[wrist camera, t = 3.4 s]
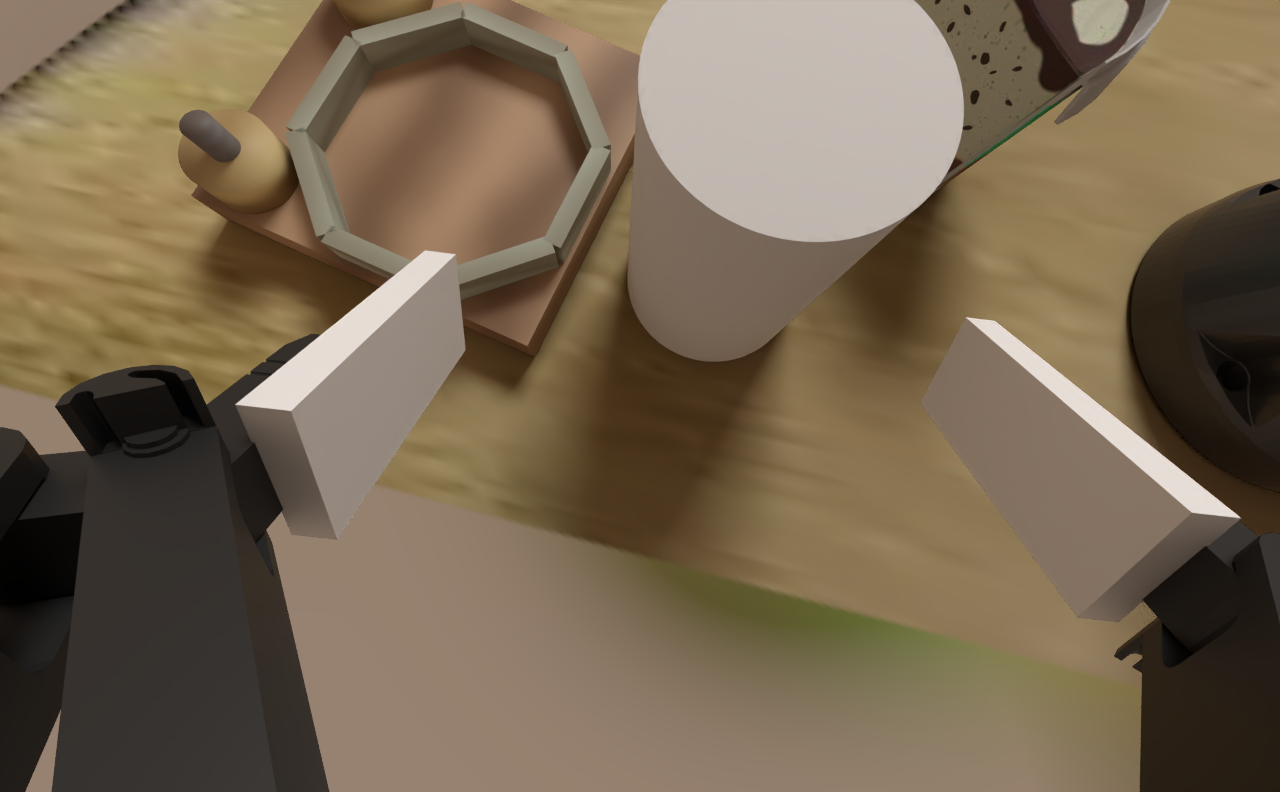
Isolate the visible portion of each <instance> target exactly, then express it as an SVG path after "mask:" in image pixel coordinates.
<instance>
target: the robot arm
mask: <svg viewBox="0 0 1280 792" xmlns="http://www.w3.org/2000/svg"><path fill="white" fill-rule="evenodd" d="M1131 326H1132V335H1133V341H1134V346H1135V351H1136V355H1137V358H1138V361H1139V365H1140V367H1141V370H1142V373H1143V375H1144V378H1145V380H1146V382H1147V384H1148V386H1149V389H1150V390H1151V392H1152V394H1153V396H1154V398H1155V400H1156V401H1157V403H1158V404H1159V406H1160V408H1161V409H1162V411H1163V412H1164V413H1165V415H1166V416H1167V418H1168V419H1169V420H1170V422H1171V423H1172V424H1173V425H1174V427H1175V428H1176V429H1177V430H1178V431H1179V432H1180V433H1181V434H1182V436H1183V437H1184V438H1185V439H1186V440H1187V441H1188V442H1189V443H1190V444H1191V445H1192V446H1193V447H1195V448H1196V449H1197V450H1198V451H1199V452H1200V453H1202V454H1203V455H1204V456H1205V457H1207V458H1208V459H1209V460H1211V461H1212V462H1213V463H1215V464H1216V465H1218V466H1219V467H1221V468H1222V469H1224V470H1225V471H1227V472H1229V473H1231V474H1232V475H1234V476H1236V477H1238V478H1240V479H1242V480H1244V481H1246V482H1249V483H1251V484H1254V485H1256V486H1259V487H1262V488H1265V489H1268V490H1272V491H1276V492H1280V179H1277V180H1272V181H1268V182H1264V183H1261V184H1257V185H1254V186H1251V187H1248V188H1246V189H1243V190H1240V191H1238V192H1236V193H1233V194H1231V195H1229V196H1227V197H1225V198H1223V199H1220V200H1218V201H1216V202H1214V203H1212V204H1209V205H1207V206H1205V207H1203V208H1201V209H1199V210H1196V211H1194V212H1192V213H1190V214H1188V215H1186V216H1184V217H1183V218H1181V219H1179V220H1178V221H1176V222H1175V223H1174V224H1172V225H1171V226H1170V227H1169V228H1168V229H1166V230H1165V231H1164V232H1163V233H1162V234H1161V235H1160V236H1159V237H1158V239H1157V240H1156V241H1155V242H1154V244H1153V245H1152V246H1151V248H1150V249H1149V251H1148V252H1147V254H1146V256H1145V258H1144V260H1143V262H1142V264H1141V266H1140V269H1139V271H1138V274H1137V277H1136V280H1135V285H1134V289H1133V295H1132V304H1131ZM465 350H466V349H465V339H464V329H463V319H462V309H461V299H460V290H459V280H458V270H457V260H456V254H450V253H442V252H434V251H424V252H423V253H421V254H420V255H419V256H418V257H416V258H415V259H414V260H413V261H412V262H410V263H409V264H408V265H407V266H405V267H404V268H403V269H402V270H400V271H399V272H398V273H397V274H396V275H394V276H393V277H392V278H391V279H389V280H388V281H387V282H386V283H384V284H383V285H382V286H381V287H380V288H378V289H377V290H376V291H375V292H373V293H372V294H371V295H370V296H368V297H367V298H366V299H365V300H363V301H362V302H361V303H360V304H359V305H357V306H356V307H355V308H354V309H352V310H351V311H350V312H349V313H347V314H346V315H345V316H344V317H343V318H341V319H340V320H339V321H338V322H336V323H335V324H334V325H333V326H331V327H330V328H329V329H328V330H327V331H325V332H324V333H323V334H322V335H317V334H310V335H308V336H305V337H303V338H301V339H298V340H296V341H293V342H291V343H289V344H286V345H284V346H283V347H282V348H280V349H279V350H278V351H277V352H275V353H274V354H273V355H271V356H270V357H269V358H267V359H266V362H262V363H261V364H259V365H258V366H257V367H256V368H254V369H253V370H252V371H251V374H250V375H248V374H246V375H245V376H244V377H242V378H241V379H240V380H238V381H237V382H236V383H234V384H233V385H232V386H231V387H229V388H228V389H227V390H225V391H224V392H223V393H221V394H220V395H219V396H217V397H216V398H215V399H213V400H212V401H211V402H210V403H208V404H207V405H206V403H205V401H204V399H203V397H202V395H201V392H200V390H199V388H198V386H197V384H196V382H195V380H194V378H193V377H192V375H191V374H190V373H189V371H188V370H185V369H182V368H179V367H176V366H165V365H148V366H139V367H131V368H126V369H122V370H118V371H114V372H110V373H106V374H103V375H100V376H98V377H95V378H93V379H90V380H88V381H85V382H83V383H80V384H79V385H77V386H76V387H74V388H73V389H71V390H70V391H68V392H66V393H65V394H63V395H62V397H61V398H60V400H59V401H58V403H57V404H56V406H55V407H56V408H57V410H58V411H59V413H60V414H61V416H62V417H63V419H64V420H65V421H66V423H67V424H68V426H69V427H70V429H71V430H72V431H73V433H74V434H75V436H76V437H77V439H78V440H79V441H80V443H81V444H82V446H83V447H84V449H85V450H86V451H78V452H68V453H57V454H46V455H39V454H38V453H37V452H36V450H35V449H34V448H33V446H32V445H31V444H30V443H29V441H28V440H27V439H26V438H25V436H24V435H23V434H22V433H21V432H20V431H17V430H12V429H8V428H3V427H1V428H0V792H25V791H26V788H27V786H28V784H29V782H30V779H31V777H32V774H33V772H34V770H35V768H36V765H37V763H38V761H39V758H40V756H41V754H42V751H43V749H44V747H45V745H46V742H47V740H48V738H49V735H50V733H51V731H52V728H53V726H54V724H55V722H56V719H57V717H58V715H59V712H60V710H61V715H60V723H59V732H58V741H57V750H56V758H55V767H54V776H53V786H52V792H329V789H328V784H327V780H326V775H325V771H324V767H323V762H322V758H321V754H320V749H319V745H318V740H317V736H316V732H315V727H314V723H313V719H312V714H311V710H310V706H309V702H308V697H307V693H306V688H305V684H304V679H303V675H302V671H301V666H300V662H299V658H298V654H297V649H296V645H295V640H294V637H293V632H292V627H291V623H290V619H289V614H288V610H287V606H286V601H285V597H284V592H283V588H282V584H281V579H280V575H279V571H278V567H277V562H276V558H275V553H274V549H273V545H272V542H271V539H270V537H269V535H268V533H267V531H266V529H267V528H268V527H269V526H270V525H271V523H272V522H273V521H274V520H275V519H276V517H277V516H278V515H279V514H280V513H281V511H282V513H283V515H284V518H285V520H286V522H287V525H288V527H289V529H290V532H291V534H292V535H299V536H308V537H317V538H328V539H336V540H337V539H338V538H339V536H340V535H341V533H342V532H343V530H344V529H345V527H346V526H347V524H348V523H349V522H350V520H351V518H352V517H353V516H354V514H355V513H356V511H357V510H358V508H359V507H360V505H361V504H362V502H363V501H364V499H365V498H366V496H367V495H368V493H369V492H370V490H371V489H372V488H373V486H374V485H375V483H376V482H377V480H378V479H379V477H380V476H381V474H382V473H383V471H384V470H385V468H386V467H387V465H388V464H389V462H390V461H391V459H392V458H393V457H394V455H395V454H396V452H397V451H398V449H399V448H400V446H401V445H402V443H403V442H404V440H405V439H406V437H407V436H408V434H409V433H410V431H411V430H412V428H413V427H414V425H415V424H416V423H417V421H418V420H419V418H420V417H421V415H422V414H423V412H424V411H425V409H426V408H427V406H428V405H429V403H430V402H431V400H432V399H433V397H434V396H435V394H436V393H437V392H438V390H439V389H440V387H441V386H442V384H443V383H444V381H445V380H446V378H447V377H448V375H449V374H450V372H451V371H452V369H453V368H454V366H455V365H456V363H457V362H458V360H459V359H460V358H461V356H462V355H463V353H464V352H465ZM920 405H921V406H922V407H923V409H924V410H925V411H926V413H927V414H928V415H929V417H930V418H931V420H932V421H933V422H934V424H935V425H936V426H937V428H938V429H939V430H940V432H941V433H942V435H943V436H944V437H945V439H946V440H947V441H948V443H949V444H950V445H951V447H952V448H953V449H954V451H955V452H956V454H957V455H958V456H959V458H960V459H961V460H962V462H963V463H964V464H965V466H966V467H967V468H968V470H969V471H970V473H971V474H972V475H973V477H974V478H975V479H976V481H977V482H978V483H979V485H980V486H981V487H982V489H983V490H984V492H985V493H986V494H987V496H988V497H989V498H990V500H991V501H992V502H993V504H994V505H995V506H996V508H997V509H998V511H999V512H1000V513H1001V515H1002V516H1003V517H1004V519H1005V520H1006V521H1007V523H1008V524H1009V525H1010V527H1011V528H1012V530H1013V531H1014V532H1015V534H1016V535H1017V536H1018V538H1019V539H1020V540H1021V542H1022V543H1023V544H1024V546H1025V547H1026V549H1027V550H1028V551H1029V553H1030V554H1031V555H1032V557H1033V558H1034V559H1035V561H1036V562H1037V563H1038V565H1039V566H1040V568H1041V569H1042V570H1043V572H1044V573H1045V574H1046V576H1047V577H1048V578H1049V580H1050V581H1051V582H1052V584H1053V585H1054V587H1055V588H1056V589H1057V591H1058V592H1059V593H1060V595H1061V596H1062V597H1063V599H1064V600H1065V601H1066V603H1067V604H1068V606H1069V607H1070V608H1071V610H1072V611H1073V612H1074V614H1075V615H1076V616H1077V618H1087V619H1096V620H1106V621H1115V622H1119V621H1120V620H1121V619H1122V618H1124V617H1125V616H1126V615H1127V614H1128V613H1130V612H1131V611H1132V610H1133V609H1134V608H1135V607H1137V606H1138V605H1139V604H1140V603H1141V602H1143V601H1144V602H1145V603H1146V604H1147V605H1148V607H1149V608H1150V609H1151V610H1152V611H1153V612H1154V613H1155V614H1156V616H1157V618H1156V619H1155V620H1153V621H1152V622H1151V623H1150V624H1148V625H1147V626H1146V627H1145V628H1143V629H1142V630H1141V631H1140V632H1138V633H1137V634H1136V635H1135V636H1133V637H1132V638H1131V639H1130V640H1128V641H1127V642H1126V643H1125V644H1123V645H1122V646H1121V647H1120V648H1118V649H1117V651H1116V653H1115V655H1114V657H1116V658H1118V659H1120V660H1121V661H1122V660H1123V659H1124V658H1125V657H1127V656H1128V655H1129V654H1133V653H1137V654H1140V655H1142V659H1141V660H1140V661H1139V662H1137V663H1136V664H1135V665H1133V668H1135V669H1136V670H1138V671H1140V672H1141V673H1142V706H1141V762H1140V792H1280V534H1276V533H1267V534H1262V535H1260V536H1257V535H1256V534H1255V533H1254V532H1252V531H1251V530H1250V529H1249V528H1247V527H1246V526H1245V525H1244V524H1242V523H1241V522H1240V521H1239V520H1240V519H1241V518H1240V517H1239V516H1238V515H1237V514H1235V513H1234V512H1233V511H1232V510H1230V509H1229V508H1228V507H1227V506H1225V505H1224V504H1223V503H1222V502H1220V501H1219V500H1218V499H1217V498H1215V497H1214V496H1213V495H1212V494H1210V493H1209V492H1208V491H1207V490H1205V489H1204V488H1203V487H1202V486H1200V485H1199V484H1198V483H1197V482H1195V481H1194V480H1193V479H1192V478H1190V477H1189V476H1188V475H1187V474H1185V473H1184V472H1183V471H1182V470H1180V469H1179V468H1178V467H1177V466H1175V465H1174V464H1173V463H1172V462H1170V461H1169V460H1168V459H1167V458H1165V457H1164V456H1163V455H1162V454H1160V453H1159V452H1158V451H1157V450H1155V449H1154V448H1153V447H1152V446H1150V445H1149V444H1148V443H1147V442H1145V441H1144V440H1143V439H1142V438H1140V437H1139V436H1138V435H1137V434H1135V433H1134V432H1133V431H1132V430H1130V429H1129V428H1128V427H1127V426H1125V425H1124V424H1123V423H1122V422H1120V421H1119V420H1118V419H1117V418H1115V417H1114V416H1113V415H1112V414H1110V413H1109V412H1108V411H1107V410H1105V409H1104V408H1103V407H1102V406H1100V405H1099V404H1098V403H1097V402H1095V401H1094V400H1093V399H1092V398H1090V397H1089V396H1088V395H1087V394H1085V393H1084V392H1083V391H1082V390H1080V389H1079V388H1078V387H1077V386H1075V385H1074V384H1073V383H1072V382H1070V381H1069V380H1068V379H1067V378H1065V377H1064V376H1063V375H1062V374H1060V373H1059V372H1058V371H1057V370H1055V369H1054V368H1053V367H1052V366H1050V365H1049V364H1048V363H1047V362H1045V361H1044V360H1043V359H1042V358H1040V357H1039V356H1038V355H1037V354H1035V353H1034V352H1033V351H1032V350H1030V349H1029V348H1028V347H1027V346H1025V345H1024V344H1023V343H1022V342H1020V341H1019V340H1018V339H1017V338H1015V337H1014V336H1013V335H1012V334H1010V333H1009V332H1008V331H1007V330H1005V329H1004V328H1003V327H1002V326H1000V325H999V324H998V323H997V322H995V321H991V320H983V319H975V318H967V317H966V318H965V320H964V322H963V324H962V326H961V328H960V329H959V331H958V333H957V335H956V337H955V339H954V341H953V342H952V344H951V346H950V348H949V350H948V352H947V354H946V356H945V357H944V359H943V361H942V363H941V365H940V367H939V369H938V370H937V372H936V374H935V376H934V378H933V380H932V382H931V383H930V385H929V387H928V389H927V391H926V393H925V395H924V397H923V398H922V400H921V402H920Z"/></svg>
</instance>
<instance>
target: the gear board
mask: <svg viewBox="0 0 1280 792" xmlns="http://www.w3.org/2000/svg"><path fill="white" fill-rule="evenodd" d="M639 62H640V56H639V55H637V54H634V53H632V52H630V51H627V50H625V49H623V48H620V47H618V46H616V45H613V44H611V43H609V42H606V41H604V40H602V39H599V38H597V37H595V36H592V35H590V34H588V33H585V32H583V31H581V30H578V29H576V28H574V27H571V26H569V25H567V24H564V23H562V22H560V21H557V20H555V19H553V18H550V17H548V16H546V15H543V14H541V13H539V12H536V11H534V10H532V9H529V8H527V7H525V6H522V5H520V4H518V3H515V2H513V1H511V0H323V1H322V2H321V4H320V5H319V7H318V8H317V10H316V11H315V13H314V14H313V16H312V17H311V19H310V20H309V22H308V23H307V25H306V26H305V28H304V29H303V31H302V32H301V34H300V35H299V37H298V38H297V39H296V41H295V42H294V44H293V45H292V47H291V48H290V50H289V51H288V53H287V54H286V56H285V57H284V59H283V60H282V62H281V63H280V65H279V66H278V68H277V69H276V71H275V72H274V74H273V75H272V77H271V78H270V80H269V81H268V82H267V84H266V85H265V87H264V88H263V90H262V91H261V93H260V94H259V96H258V97H257V99H256V100H255V102H254V103H253V105H252V106H251V108H250V109H249V111H248V112H246V111H242V110H237V109H222V110H217V111H213V112H210V113H207V112H205V111H202V110H193V111H190V112H188V113H186V114H185V115H184V116H183V117H182V119H181V120H180V124H179V128H180V131H181V133H182V134H183V136H182V139H181V141H180V144H179V150H178V158H179V163H180V165H181V168H182V170H183V172H184V173H185V174H186V176H187V177H188V178H189V179H190V180H192V181H193V182H194V183H196V184H197V185H198V186H197V188H196V189H195V191H194V192H193V194H192V195H191V196H193V197H194V198H196V199H197V200H199V201H200V202H202V203H203V204H205V205H206V206H208V207H209V208H211V209H212V210H214V211H215V212H217V213H218V214H220V215H221V216H223V217H224V218H226V219H227V220H229V221H232V222H234V223H236V224H238V225H241V226H243V227H245V228H247V229H250V230H252V231H254V232H256V233H258V234H261V235H263V236H265V237H267V238H270V239H272V240H274V241H276V242H279V243H281V244H283V245H285V246H288V247H290V248H292V249H294V250H296V251H299V252H301V253H303V254H305V255H308V256H310V257H312V258H314V259H317V260H319V261H321V262H323V263H325V264H328V265H330V266H332V267H334V268H337V269H339V270H341V271H343V272H346V273H348V274H350V275H352V276H354V277H357V278H359V279H361V280H363V281H366V282H368V283H370V284H372V285H375V286H377V287H379V288H380V287H381V286H382V285H383V284H384V283H386V282H387V281H388V280H389V279H391V278H392V277H393V276H394V275H396V274H397V273H398V272H399V271H400V270H402V269H403V268H404V267H405V266H407V265H408V264H409V263H410V262H412V261H413V260H414V259H415V258H416V257H418V256H419V255H420V254H421V253H423V252H424V251H434V252H442V253H450V254H456V260H457V270H458V280H459V290H460V299H461V309H462V319H463V325H464V326H466V327H468V328H471V329H473V330H475V331H477V332H480V333H482V334H484V335H486V336H488V337H491V338H493V339H495V340H497V341H500V342H502V343H504V344H506V345H509V346H511V347H513V348H515V349H517V350H520V351H522V352H524V353H526V354H529V355H531V356H533V357H535V356H536V354H537V352H538V350H539V348H540V346H541V344H542V342H543V340H544V338H545V336H546V334H547V332H548V330H549V328H550V326H551V324H552V322H553V320H554V318H555V316H556V314H557V312H558V310H559V308H560V306H561V304H562V302H563V300H564V298H565V296H566V294H567V292H568V290H569V288H570V286H571V284H572V282H573V280H574V278H575V276H576V274H577V272H578V270H579V268H580V266H581V264H582V262H583V260H584V258H585V256H586V254H587V252H588V250H589V248H590V246H591V244H592V242H593V240H594V238H595V236H596V234H597V232H598V230H599V228H600V226H601V224H602V222H603V220H604V218H605V216H606V214H607V212H608V210H609V208H610V206H611V204H612V202H613V200H614V198H615V196H616V194H617V192H618V190H619V188H620V186H621V184H622V182H623V180H624V178H625V176H626V174H627V172H628V170H629V168H630V166H631V164H632V162H633V160H634V143H635V124H636V106H637V87H638V71H639Z"/></svg>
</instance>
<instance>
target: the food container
mask: <svg viewBox="0 0 1280 792" xmlns="http://www.w3.org/2000/svg"><path fill="white" fill-rule="evenodd" d="M914 1H915V2H916V3H918V4H919V6H920V7H921V8H922V9H923V10H924V11H925V12H926V13H927V14H928V16H929V17H930V18H931V19H932V21H933V22H934V23H935V25H936V26H937V28H938V29H939V31H940V32H941V34H942V35H943V37H944V39H945V40H946V42H947V44H948V46H949V48H950V50H951V52H952V55H953V57H954V60H955V62H956V65H957V69H958V72H959V75H960V80H961V84H962V91H963V100H964V120H963V128H962V134H961V139H960V143H959V146H958V149H957V152H956V155H955V157H954V160H953V162H952V164H951V166H950V168H949V170H948V172H947V174H946V175H945V177H944V178H943V180H942V181H941V183H940V184H939V185H938V187H937V188H936V189H935V191H936V190H938V189H939V188H941V187H942V186H944V185H945V184H946V183H948V182H949V181H951V180H952V179H953V178H955V177H956V176H958V175H959V174H960V173H962V172H963V171H965V170H966V169H967V168H969V167H970V166H972V165H973V164H975V163H976V162H977V161H979V160H980V159H982V158H983V157H984V156H986V155H987V154H989V153H990V152H991V151H993V150H994V149H996V148H997V147H999V146H1000V145H1001V144H1003V143H1004V142H1006V141H1007V140H1008V139H1010V138H1011V137H1013V136H1014V135H1015V134H1017V133H1018V132H1020V131H1021V130H1022V129H1024V128H1025V127H1027V126H1028V125H1030V124H1031V123H1032V122H1034V121H1035V120H1037V119H1038V118H1039V117H1041V116H1042V115H1044V114H1045V113H1046V112H1048V111H1049V110H1051V109H1052V108H1054V107H1055V106H1056V105H1058V104H1059V103H1061V102H1062V101H1063V100H1065V99H1066V98H1068V97H1069V96H1070V95H1072V94H1073V93H1075V92H1076V91H1078V90H1079V89H1080V88H1082V87H1083V89H1082V90H1081V91H1080V92H1079V93H1078V94H1077V95H1076V97H1075V98H1074V99H1073V100H1072V101H1071V102H1070V104H1069V105H1068V106H1067V107H1066V108H1065V109H1064V111H1063V112H1062V113H1061V114H1060V115H1059V116H1058V118H1057V119H1056V120H1055V121H1054V122H1055V123H1056V124H1057V125H1058V124H1059V123H1061V122H1063V121H1065V120H1067V119H1068V118H1070V117H1072V116H1074V115H1076V114H1078V113H1079V112H1080V111H1081V110H1083V109H1084V108H1085V107H1086V106H1087V105H1089V104H1090V103H1091V102H1092V101H1094V100H1095V99H1096V98H1097V97H1098V96H1099V95H1100V94H1101V93H1102V91H1103V90H1104V89H1105V88H1106V87H1107V86H1108V85H1109V84H1110V83H1111V81H1112V80H1113V79H1114V78H1115V77H1116V76H1117V75H1118V74H1119V73H1120V72H1121V70H1122V69H1123V68H1124V67H1125V66H1126V65H1127V64H1128V63H1129V62H1130V60H1131V59H1132V58H1133V57H1134V56H1135V55H1136V53H1137V52H1138V51H1139V50H1140V49H1141V48H1142V46H1143V45H1144V44H1145V43H1146V41H1147V39H1148V37H1149V35H1150V34H1151V32H1152V30H1153V28H1154V26H1155V25H1156V24H1157V23H1158V22H1159V20H1160V19H1161V17H1162V15H1163V13H1164V11H1165V10H1166V8H1167V6H1168V4H1169V2H1170V0H914ZM935 191H934V192H935ZM934 192H933V193H934Z"/></svg>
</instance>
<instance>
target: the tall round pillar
mask: <svg viewBox="0 0 1280 792" xmlns="http://www.w3.org/2000/svg"><path fill="white" fill-rule="evenodd" d="M963 120H964V100H963V91H962V84H961V80H960V75H959V72H958V69H957V65H956V62H955V60H954V57H953V55H952V52H951V50H950V48H949V46H948V44H947V42H946V40H945V39H944V37H943V35H942V34H941V32H940V31H939V29H938V28H937V26H936V25H935V23H934V22H933V21H932V19H931V18H930V17H929V16H928V14H927V13H926V12H925V11H924V10H923V9H922V8H921V7H920V6H919V4H918V3H916V2H915V1H914V0H667V2H666V3H665V4H664V5H663V7H662V8H661V10H660V11H659V12H658V14H657V16H656V17H655V19H654V21H653V23H652V24H651V27H650V29H649V31H648V33H647V36H646V39H645V41H644V44H643V48H642V52H641V56H640V62H639V71H638V87H637V106H636V124H635V143H634V161H633V180H632V199H631V217H630V236H629V254H628V273H627V285H628V292H629V297H630V301H631V304H632V307H633V309H634V311H635V314H636V316H637V317H638V319H639V321H640V322H641V324H642V325H643V327H644V328H645V329H646V331H647V332H648V333H649V334H650V335H651V336H652V337H653V338H654V339H655V340H656V341H658V342H659V343H660V344H661V345H663V346H664V347H666V348H667V349H669V350H671V351H673V352H675V353H677V354H679V355H681V356H684V357H687V358H690V359H694V360H699V361H707V362H721V361H729V360H734V359H738V358H741V357H744V356H746V355H748V354H751V353H752V352H754V351H756V350H758V349H759V348H761V347H762V346H764V345H765V344H766V343H767V342H768V341H770V340H771V339H772V338H773V337H774V336H775V335H776V334H777V333H778V332H780V331H781V330H782V329H783V328H784V327H785V326H786V325H787V324H788V323H790V322H791V321H792V320H793V319H794V318H795V317H796V316H797V315H798V314H800V313H801V312H802V311H803V310H804V309H805V308H806V307H807V306H809V305H810V304H811V303H812V302H813V301H814V300H815V299H816V298H817V297H819V296H820V295H821V294H822V293H823V292H824V291H825V290H826V289H827V288H829V287H830V286H831V285H832V284H833V283H834V282H835V281H836V280H837V279H839V278H840V277H841V276H842V275H843V274H844V273H845V272H846V271H847V270H849V269H850V268H851V267H852V266H853V265H854V264H855V263H856V262H857V261H859V260H860V259H861V258H862V257H863V256H864V255H865V254H866V253H867V252H869V251H870V250H871V249H872V248H873V247H874V246H875V245H876V244H877V243H879V242H880V241H881V240H882V239H883V238H884V237H885V236H886V235H887V234H889V233H890V232H891V231H892V230H893V229H894V228H895V227H896V226H897V225H899V224H900V223H901V222H902V221H903V220H904V219H905V218H906V217H908V216H909V215H910V214H911V213H912V212H913V211H914V210H915V209H916V208H918V207H919V206H920V205H921V204H922V203H923V202H924V201H925V200H926V199H927V198H928V197H929V196H930V195H931V194H932V193H933V192H934V191H935V189H936V188H937V187H938V185H939V184H940V183H941V181H942V180H943V178H944V177H945V175H946V174H947V172H948V170H949V168H950V166H951V164H952V162H953V160H954V157H955V155H956V152H957V149H958V146H959V143H960V139H961V134H962V128H963Z"/></svg>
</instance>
